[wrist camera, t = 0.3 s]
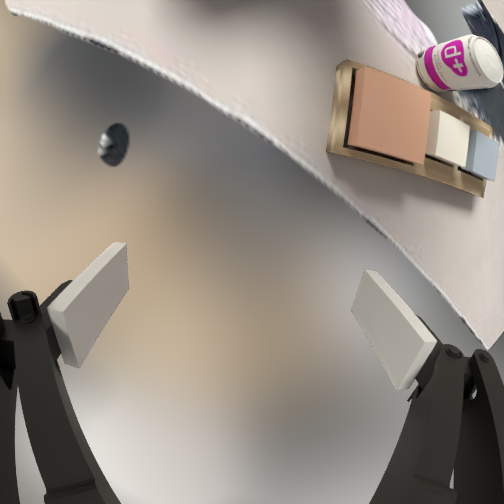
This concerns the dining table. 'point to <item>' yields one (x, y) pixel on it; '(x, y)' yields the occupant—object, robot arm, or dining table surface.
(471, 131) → the key slate
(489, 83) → the supplement can
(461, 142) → the key ivory
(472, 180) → the wooden compartment tray
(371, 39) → the dining table surface
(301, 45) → the dining table surface
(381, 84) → the key terracotta
